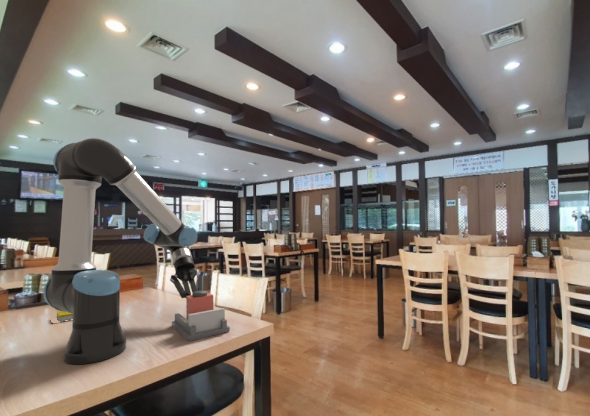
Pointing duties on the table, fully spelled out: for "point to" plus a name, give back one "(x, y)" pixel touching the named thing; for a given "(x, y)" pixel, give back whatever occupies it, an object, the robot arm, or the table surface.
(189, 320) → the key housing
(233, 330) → the table surface
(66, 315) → the emergency button
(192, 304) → the block
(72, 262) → the robot arm
